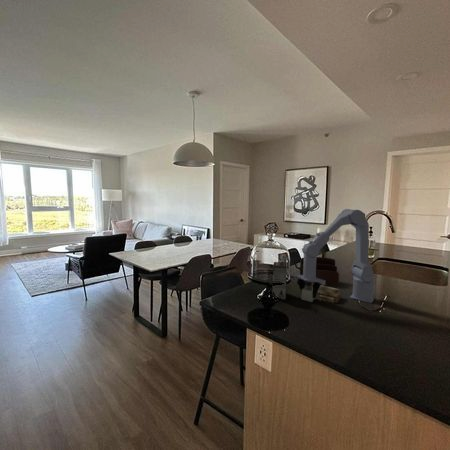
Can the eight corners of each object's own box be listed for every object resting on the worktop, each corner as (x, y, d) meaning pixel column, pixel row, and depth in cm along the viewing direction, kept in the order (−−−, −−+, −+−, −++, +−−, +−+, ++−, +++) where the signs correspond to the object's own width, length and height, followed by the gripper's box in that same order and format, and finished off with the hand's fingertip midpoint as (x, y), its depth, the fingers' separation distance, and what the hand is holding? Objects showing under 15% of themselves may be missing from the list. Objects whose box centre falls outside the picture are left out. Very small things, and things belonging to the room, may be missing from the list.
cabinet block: (315, 298, 122) (316, 286, 122) (311, 302, 118) (312, 289, 118) (305, 296, 125) (305, 284, 125) (301, 299, 122) (301, 287, 121)
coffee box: (272, 291, 131) (273, 261, 130) (285, 292, 130) (286, 262, 129) (272, 298, 123) (273, 266, 121) (286, 299, 121) (287, 266, 120)
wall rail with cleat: (341, 297, 124) (341, 289, 123) (335, 303, 116) (335, 295, 116) (312, 290, 133) (312, 283, 133) (305, 296, 126) (305, 288, 125)
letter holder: (299, 278, 154) (300, 256, 152) (334, 280, 151) (335, 257, 149) (302, 284, 144) (302, 260, 142) (338, 286, 141) (340, 261, 139)
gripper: (291, 267, 122) (290, 294, 123) (322, 273, 113) (320, 302, 114) (297, 264, 127) (296, 290, 129) (327, 270, 118) (326, 298, 120)
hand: (308, 296), depth 122 cm, fingers closed on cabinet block, 5 cm apart
